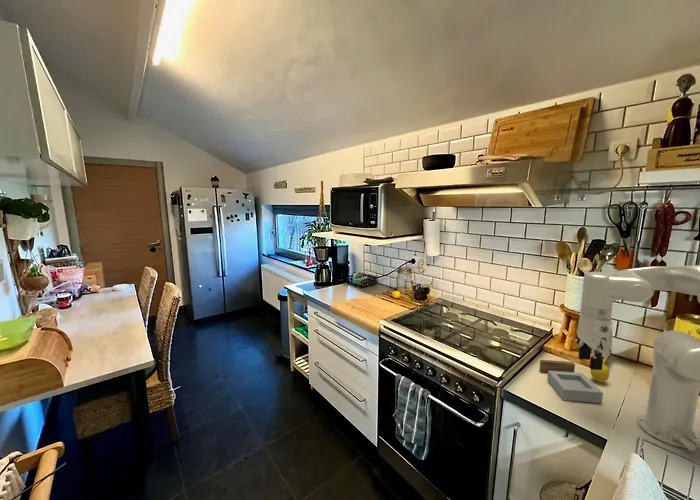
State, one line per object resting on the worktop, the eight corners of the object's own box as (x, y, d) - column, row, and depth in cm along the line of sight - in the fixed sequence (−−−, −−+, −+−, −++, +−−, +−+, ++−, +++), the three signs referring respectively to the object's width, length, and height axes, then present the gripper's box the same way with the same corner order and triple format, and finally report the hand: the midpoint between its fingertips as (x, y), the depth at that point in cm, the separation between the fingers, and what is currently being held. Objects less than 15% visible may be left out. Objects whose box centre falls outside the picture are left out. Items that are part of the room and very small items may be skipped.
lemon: (612, 386, 111) (614, 366, 110) (597, 386, 111) (599, 366, 110) (600, 377, 117) (602, 359, 115) (586, 377, 117) (588, 359, 115)
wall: (573, 375, 118) (575, 364, 118) (541, 372, 121) (542, 361, 120) (571, 373, 120) (572, 361, 119) (539, 370, 122) (540, 359, 121)
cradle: (601, 403, 102) (603, 392, 101) (563, 399, 104) (564, 389, 103) (581, 382, 113) (582, 373, 113) (547, 379, 115) (548, 370, 115)
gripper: (629, 322, 84) (621, 380, 86) (592, 302, 100) (586, 351, 103) (599, 321, 85) (592, 378, 88) (567, 301, 102) (563, 350, 104)
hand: (589, 363), depth 95 cm, fingers open, 5 cm apart
